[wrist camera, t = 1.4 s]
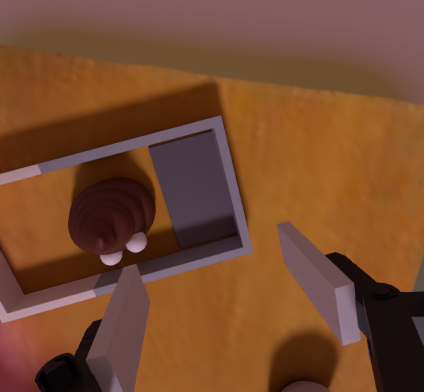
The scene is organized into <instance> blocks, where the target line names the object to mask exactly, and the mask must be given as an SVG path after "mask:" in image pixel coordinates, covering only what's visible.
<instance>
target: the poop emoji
mask: <svg viewBox="0 0 424 392" xmlns="http://www.w3.org/2000/svg"><path fill="white" fill-rule="evenodd" d="M155 212H156V209H155V203H154V200H153V197H152V195H151V194H150V192H149V191H148V190H147V189H146V188H145V187H144V186H143V185H142V184H140V183H138V182H136V181H134V180H131V179H127V178H111V179H107V180H103V181H100V182H98V183H96V184H94V185H92V186H91V187H88V188H87V189H85V190H84V191H82V192H81V193H80V194H79V195H78V196H77V197H76V199H75V200H74V202H73V204H72V206H71V209H70V213H69V220H68V229H69V233H70V236H71V238H72V240H73V242H74V243H75V244H76V245H77V246H78V247H79V248H80V249H82V250H84V251H86V252H88V253H91V254H96V255H100V258H101V260H102V262H103V263H104V264H106V265H116V264H118V263H119V262H120V261H121V258H122V251H123V250H125V249H128V250H130V251H131V252H137V253H138V252H141V251H143V250H144V249H145V247H146V244H147V238H146V234H147V232H148V231H149V229H150V228H151V226H152V224H153V221H154V218H155Z"/></svg>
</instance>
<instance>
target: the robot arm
mask: <svg viewBox="0 0 424 392" xmlns="http://www.w3.org/2000/svg"><path fill="white" fill-rule="evenodd" d="M277 229H278V234H279V239H280V244H281V249H282V254H283V259H284V263H285V265H286V266H287V268H288V269H289V271H290V272H291V273H292V275H293V276H294V278H295V279H296V280H297V282H298V283H299V285H300V286H301V287H302V289H303V290H304V292H305V293H306V295H307V296H308V297H309V299H310V300H311V302H312V303H313V304H314V306H315V307H316V309H317V310H318V311H319V313H320V314H321V316H322V317H323V318H324V320H325V321H326V323H327V324H328V326H329V327H330V328H331V330H332V331H333V333H334V334H335V335H336V337H337V338H338V340H339V341H340V342H341V344H342V345H347V344H350V343H354V342H357V341H361V338H360V330H361V331H362V332H363V334H364V335H365V336H366V337H367V344H368V353H369V360H370V361H371V364H372V369H373V374H374V379H375V384H376V389H377V392H424V291H423V292H400V291H399V289H397V288H395V287H394V286H392V285H389V284H386V283H377V282H376V281H375V280H374V279H372V278H371V277H370V276H369V275H368V274H366V273H365V272H364V271H363V270H362V269H360V268H359V267H358V266H357V265H356V264H354V263H352V261H351V260H350V259H348V258H347V257H346V256H344V255H342V254H339V253H337V252H334V253H330V254H327V255H324V254H323V253H322V252H321V251H320V250H319V249H317V248H316V247H315V246H314V245H313V244H312V243H311V242H310V241H309V240H308V239H307V238H306V237H305V236H304V235H303V234H302V233H301V232H300V231H299V230H298V229H296V228H295V227H294V226H293V225H292V224H291V223H290V222H289V221H287V222H284V223H280V224H277ZM149 306H150V299H149V296H148V294H147V291H146V289H145V286H144V283H143V281H142V278H141V275H140V273H139V270H138V267H137V265H136V264H133V265H130V266H126V267H124V268H123V270H122V273H121V275H120V277H119V280H118V282H117V285H116V287H115V290H114V292H113V295H112V297H111V299H110V302H109V304H108V307H107V309H106V312H105V314H104V317H103V319H100V320H97V321H94V322H93V323H92V324H91V325H90V326H89V328H88V329H87V330H86V332H85V334H84V336H83V338H82V341H81V342H80V344H79V348H78V349H77V351H76V353H75V355H74V356H73V354H70V353H65V354H61V355H59V356H56V357H54V358H53V359H51V360H50V361H49V362H47V363H46V364H45V365H44V366H43V367H42V368H41V369H40V371H39V372H38V374H37V375H36V378H35V382H36V384H37V385H38V387H39V389H40V391H41V392H134V388H135V383H136V377H137V372H138V366H139V361H140V355H141V350H142V344H143V339H144V333H145V328H146V323H147V317H148V312H149Z"/></svg>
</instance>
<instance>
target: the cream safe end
mask: <svg viewBox="0 0 424 392" xmlns="http://www.w3.org/2000/svg"><path fill="white" fill-rule="evenodd" d="M46 162H47V161H46ZM42 163H43V162H42ZM39 164H40V163H39ZM39 174H41V171H40V169H39V167H38V165H37V164H35V165H31V166H27V167H23V168H20V169H16V170H12V171H8V172H5V173H1V174H0V185H2V184H5V183H9V182H13V181H17V180H20V179H24V178H28V177H32V176H35V175H39ZM101 274H102V273H101ZM101 274H97V275H94V276H90V277H87V278H83V279H80V280H76V281H72V282H69V283H65V284H62V285H58V286H55V287H51V288H47V289H44V290H40V291H37V292H33V293H29V294H26V295H24V293H23V291H22V290H21V288H20V286H19V284H18V282H17V280H16V278H15V276H14V275H13V273H12V271H11V269H10V267H9V265H8V263H7V261H6V260H5V258H4V256H3V254H2V252H1V250H0V320H1V321H2V323H5V322H8V321H12V320H15V319H19V318H23V317H26V316H30V315H33V314H37V313H40V312H44V311H47V310H51V309H54V308H58V307H62V306H65V305H69V304H72V303H76V302H79V301H83V300H86V299H90V298H93V297H96V295H95V293H94V291H93V288H94V287H95V285H96V283H97V281H98V279H99V277H100V275H101Z"/></svg>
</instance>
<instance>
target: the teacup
mask: <svg viewBox="0 0 424 392" xmlns="http://www.w3.org/2000/svg"><path fill="white" fill-rule="evenodd" d="M281 392H330V391H329V390H328V389H327V388H326V387H324V386H323V385H321V384H318V383H315V382H309V381H298V382H294V383H292V384H290V385H288V386H287V387H285V388H284V389H283V390H282V391H281Z"/></svg>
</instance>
